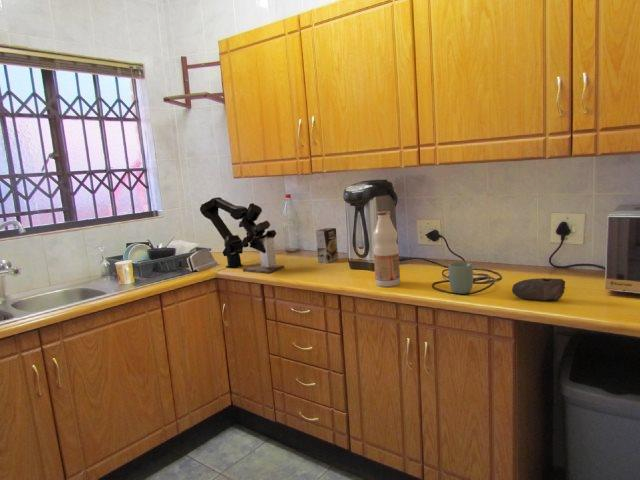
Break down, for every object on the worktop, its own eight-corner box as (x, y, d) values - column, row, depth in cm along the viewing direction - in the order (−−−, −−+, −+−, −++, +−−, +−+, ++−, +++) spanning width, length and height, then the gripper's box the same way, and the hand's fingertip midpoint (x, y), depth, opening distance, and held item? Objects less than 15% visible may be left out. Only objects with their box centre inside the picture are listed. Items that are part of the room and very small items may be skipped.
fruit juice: (378, 288, 167) (373, 214, 163) (373, 282, 177) (368, 211, 172) (403, 285, 168) (399, 211, 164) (396, 279, 177) (392, 209, 173)
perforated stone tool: (511, 300, 142) (510, 279, 140) (512, 295, 146) (512, 275, 145) (565, 304, 134) (565, 281, 133) (565, 299, 139) (565, 277, 138)
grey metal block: (197, 271, 224) (190, 253, 224) (191, 274, 226) (183, 256, 226) (218, 264, 239) (211, 247, 239) (212, 267, 241) (205, 249, 241)
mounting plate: (242, 271, 216) (242, 269, 216) (259, 265, 226) (259, 263, 226) (267, 273, 207) (267, 271, 207) (284, 267, 216) (284, 265, 216)
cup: (467, 296, 149) (467, 267, 147) (445, 294, 154) (444, 265, 152) (477, 290, 154) (476, 262, 153) (455, 288, 159) (454, 260, 158)
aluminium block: (261, 266, 212) (258, 239, 210) (268, 263, 216) (266, 237, 214) (268, 266, 209) (265, 239, 207) (275, 264, 213) (273, 237, 211)
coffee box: (328, 263, 219) (325, 230, 216) (317, 262, 223) (315, 230, 220) (338, 259, 226) (336, 227, 223) (328, 258, 230) (326, 227, 227)
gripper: (242, 218, 204) (261, 243, 199) (272, 213, 218) (290, 236, 213) (233, 235, 211) (251, 259, 205) (262, 228, 225) (280, 251, 219)
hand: (269, 251), depth 211 cm, fingers closed on aluminium block, 5 cm apart
